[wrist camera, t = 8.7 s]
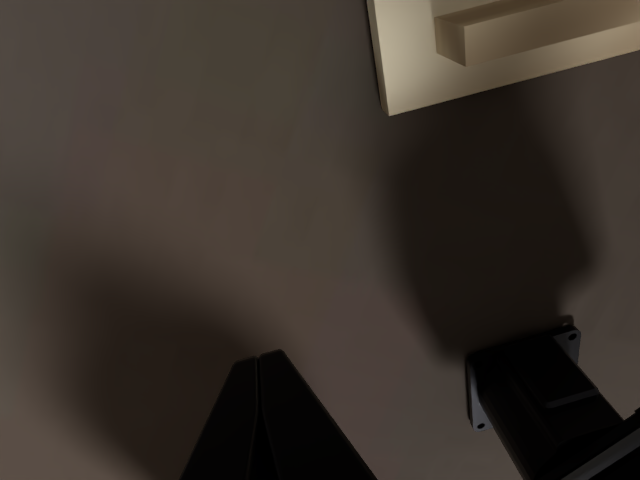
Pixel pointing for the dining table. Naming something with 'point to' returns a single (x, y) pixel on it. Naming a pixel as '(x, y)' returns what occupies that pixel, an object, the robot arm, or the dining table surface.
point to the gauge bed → (489, 43)
